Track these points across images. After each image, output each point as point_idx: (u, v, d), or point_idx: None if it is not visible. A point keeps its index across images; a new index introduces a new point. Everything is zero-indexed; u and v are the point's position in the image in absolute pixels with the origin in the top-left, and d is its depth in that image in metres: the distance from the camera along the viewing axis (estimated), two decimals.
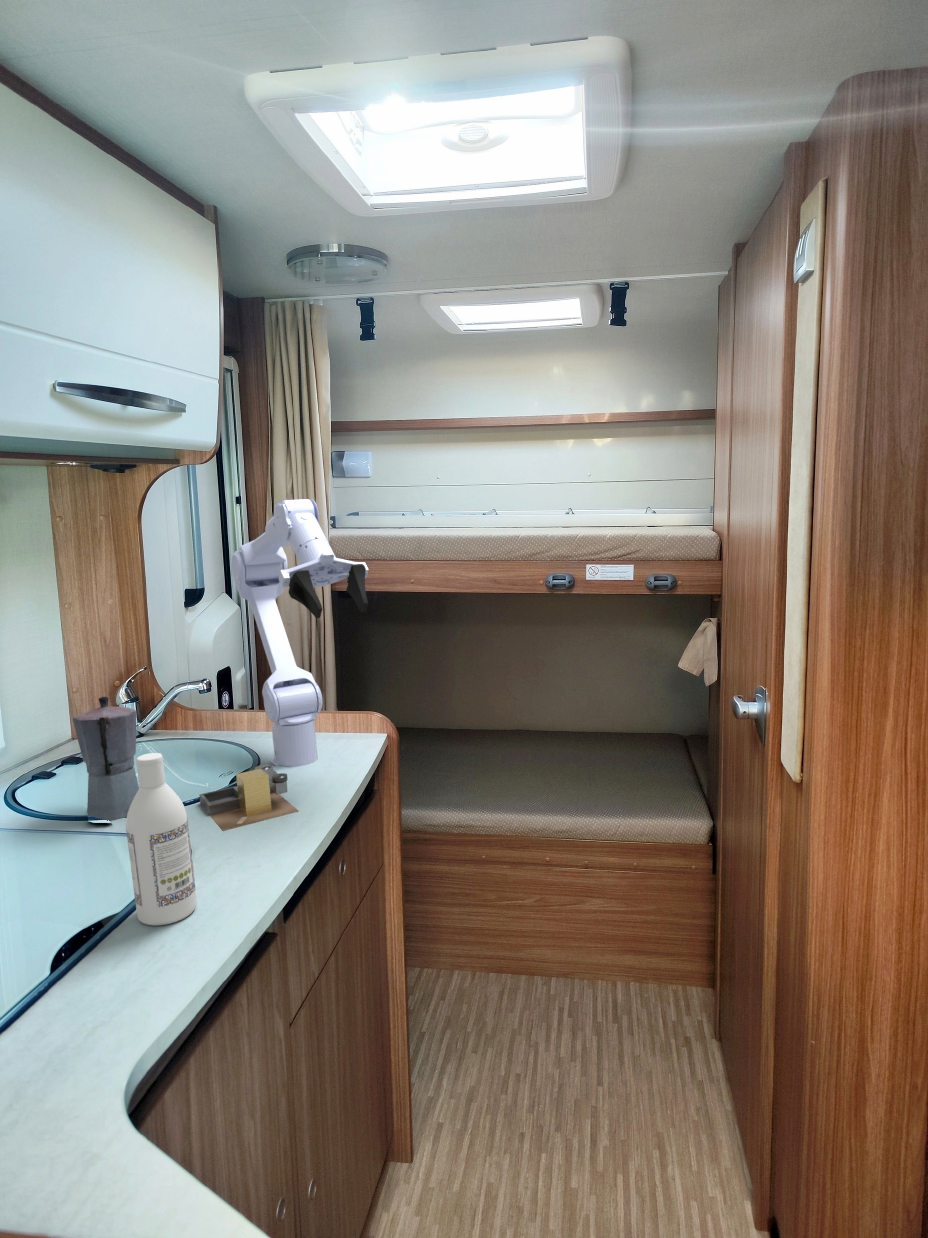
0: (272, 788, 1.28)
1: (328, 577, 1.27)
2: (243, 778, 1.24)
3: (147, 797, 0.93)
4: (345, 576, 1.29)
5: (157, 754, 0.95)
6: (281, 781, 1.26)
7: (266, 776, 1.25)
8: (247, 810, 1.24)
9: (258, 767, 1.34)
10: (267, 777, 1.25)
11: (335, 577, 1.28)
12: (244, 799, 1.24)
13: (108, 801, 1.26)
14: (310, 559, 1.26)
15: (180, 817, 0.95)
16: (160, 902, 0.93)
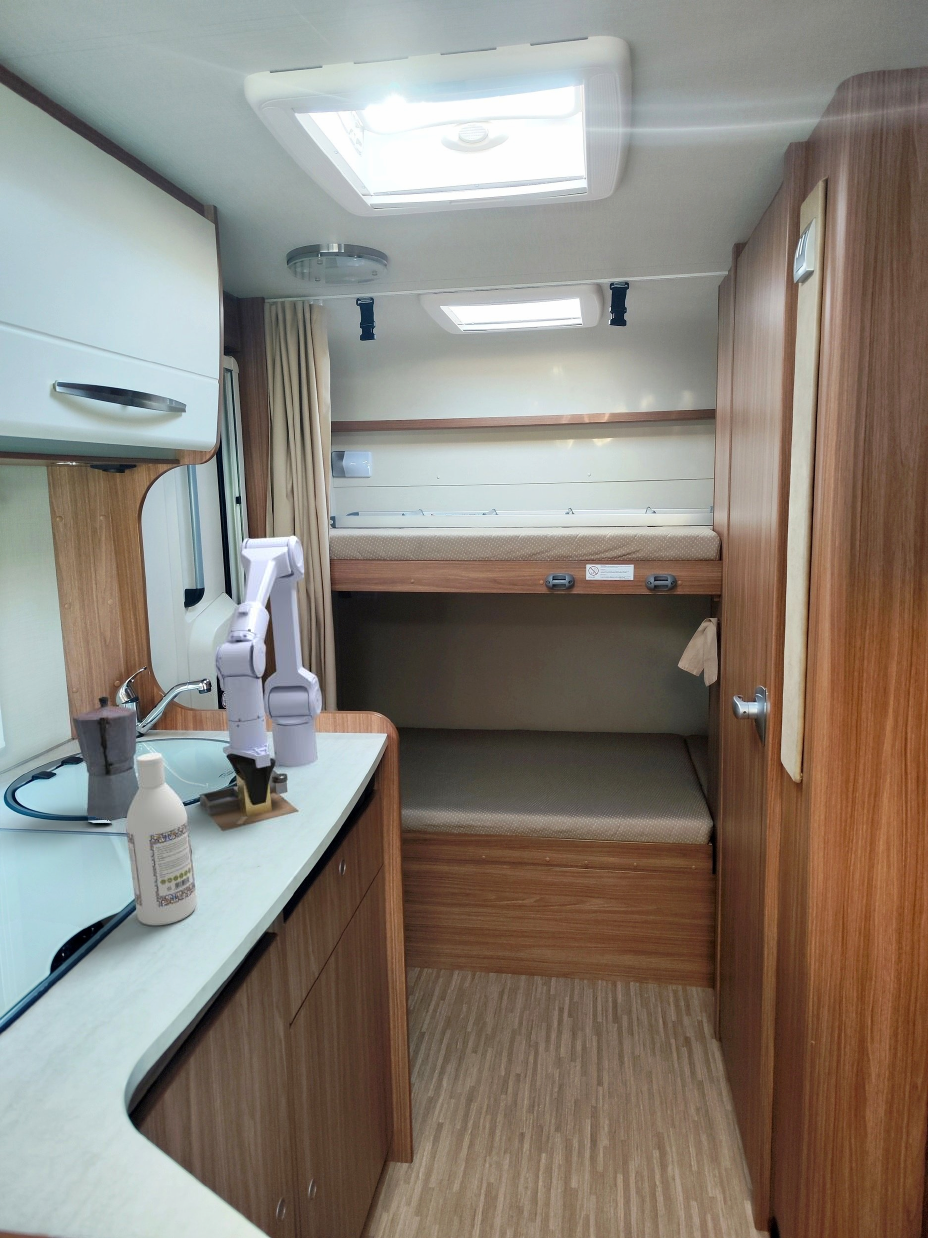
0: (272, 788, 1.28)
1: None
2: (243, 778, 1.24)
3: (147, 797, 0.93)
4: None
5: (157, 754, 0.95)
6: (281, 781, 1.26)
7: None
8: (247, 810, 1.24)
9: None
10: None
11: None
12: (244, 799, 1.24)
13: (108, 801, 1.26)
14: None
15: (180, 817, 0.95)
16: (160, 902, 0.93)
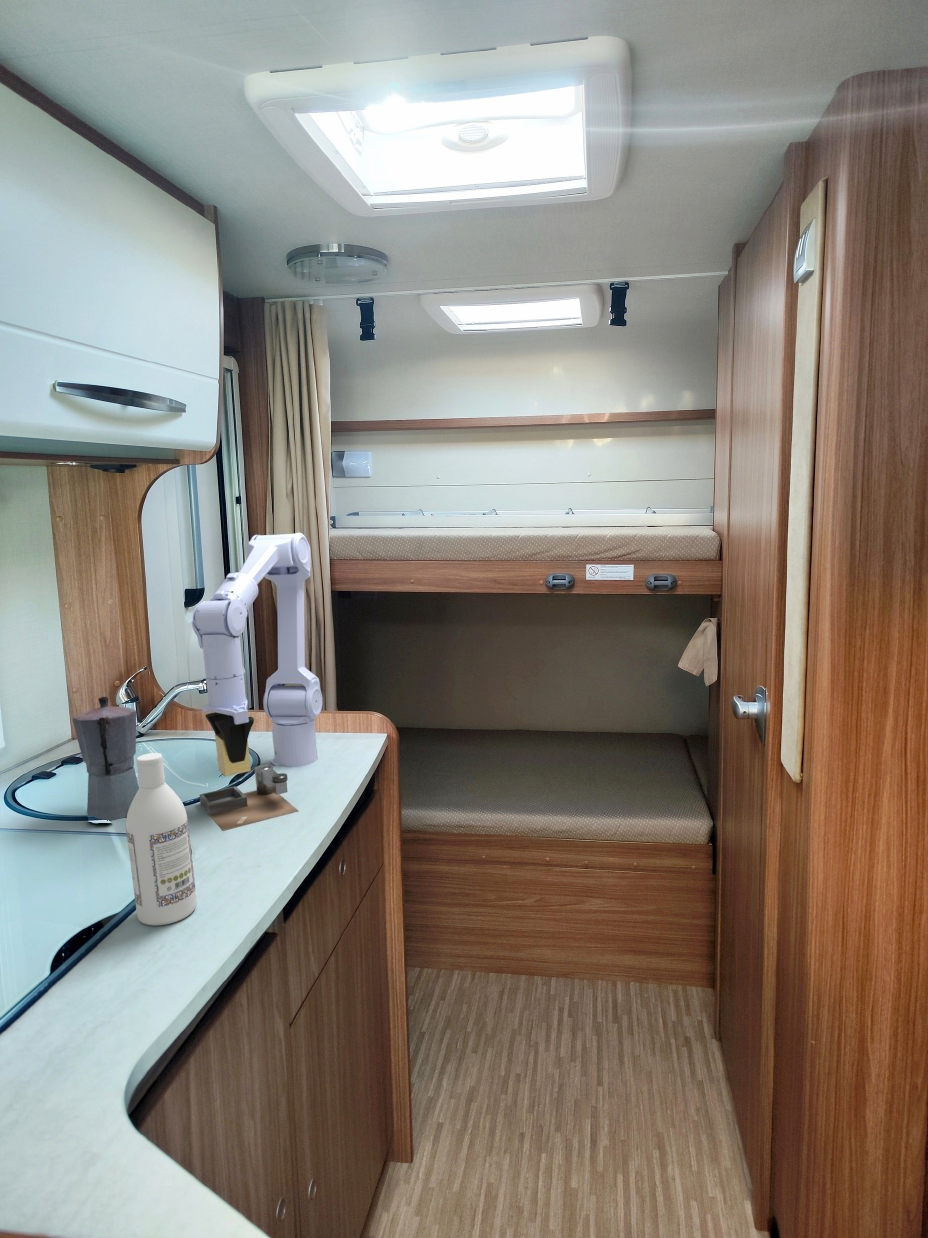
0: (272, 788, 1.28)
1: None
2: (222, 738, 1.25)
3: (147, 797, 0.93)
4: None
5: (157, 754, 0.95)
6: (281, 781, 1.26)
7: None
8: (226, 769, 1.24)
9: (258, 767, 1.34)
10: None
11: None
12: (223, 758, 1.24)
13: (108, 801, 1.26)
14: None
15: (180, 817, 0.95)
16: (160, 902, 0.93)
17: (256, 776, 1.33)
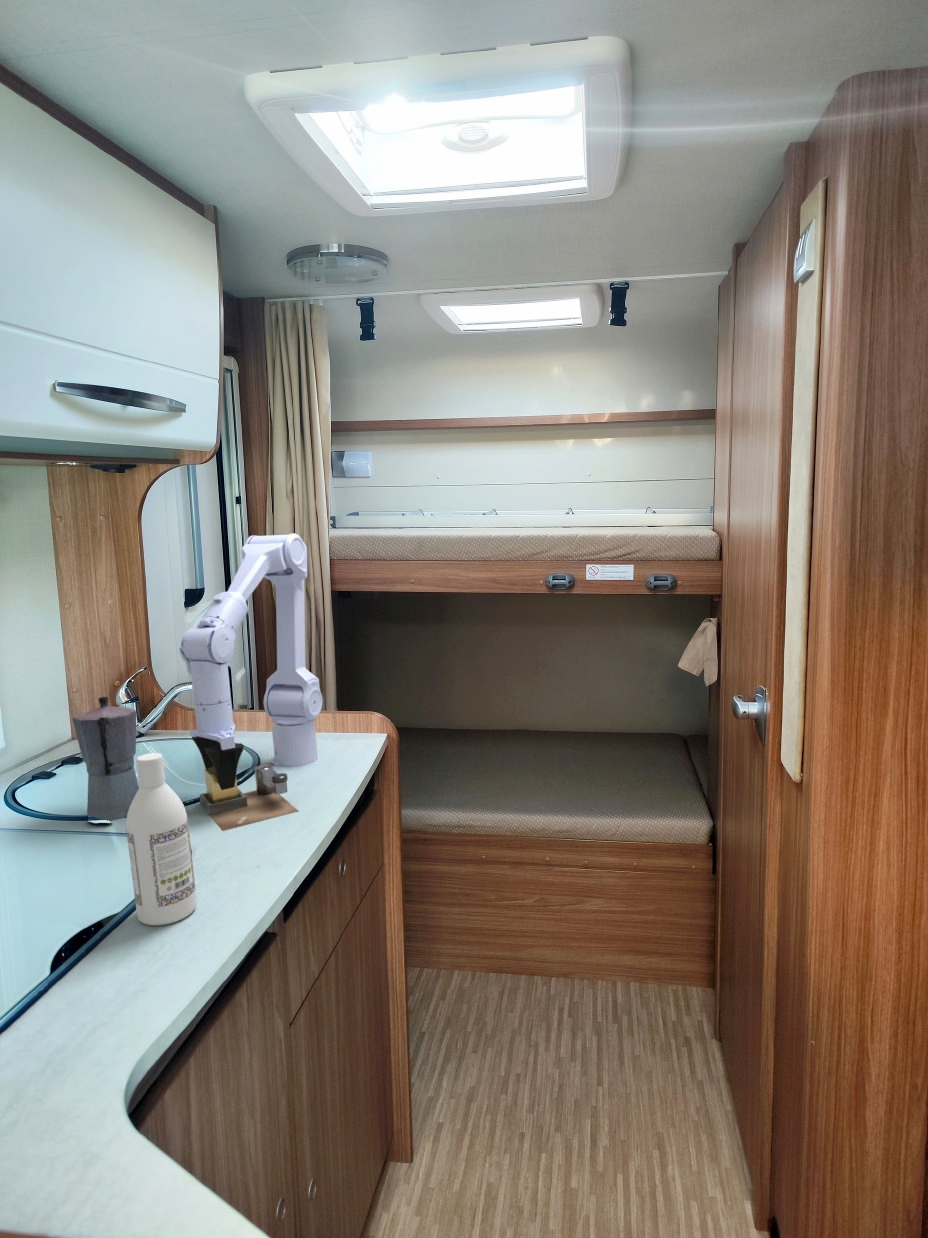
0: (272, 788, 1.28)
1: None
2: (211, 773, 1.27)
3: (147, 797, 0.93)
4: None
5: (157, 754, 0.95)
6: (281, 781, 1.26)
7: None
8: None
9: (258, 767, 1.34)
10: None
11: None
12: (211, 793, 1.27)
13: (108, 801, 1.26)
14: None
15: (180, 817, 0.95)
16: (160, 902, 0.93)
17: (256, 776, 1.33)
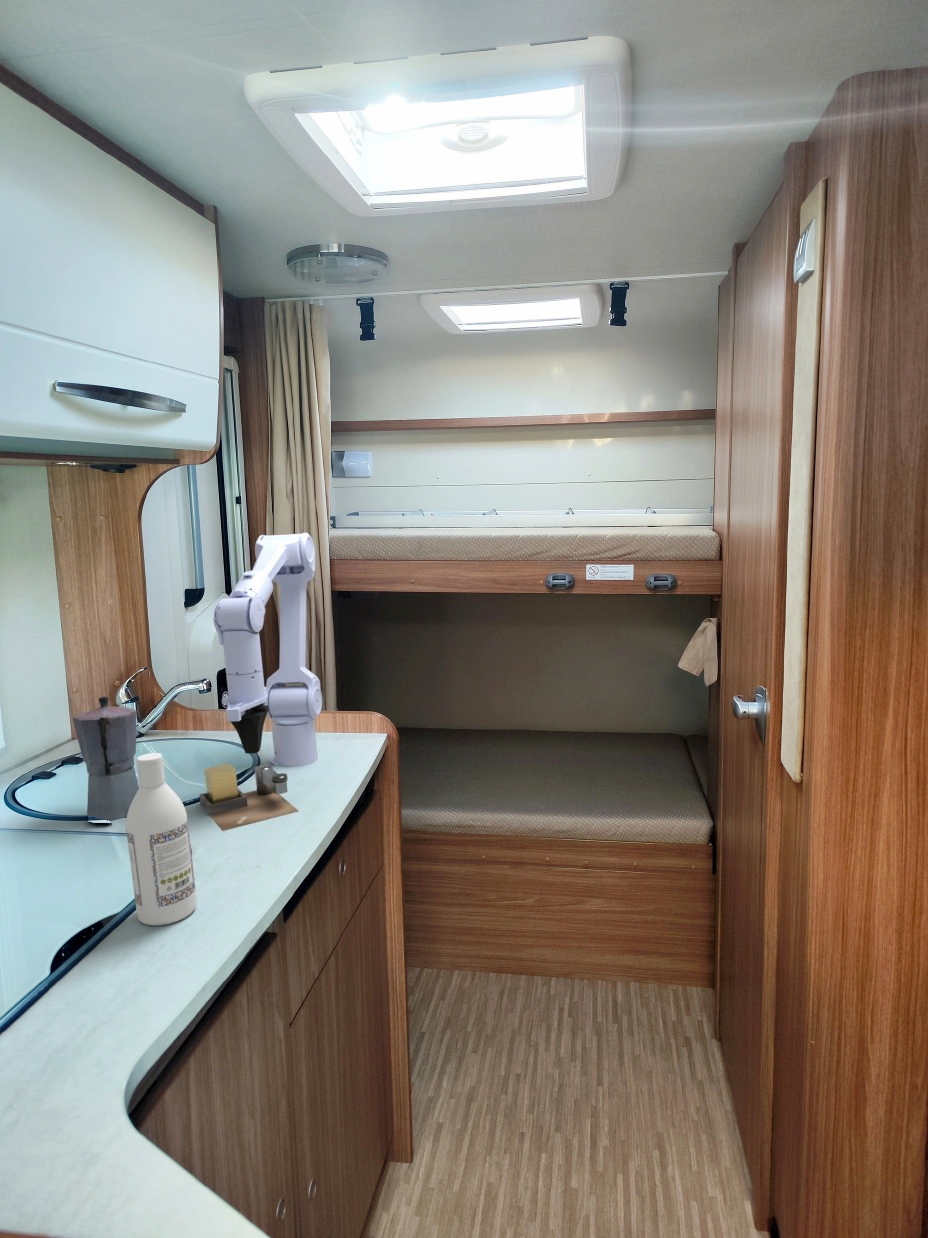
0: (272, 788, 1.28)
1: None
2: (211, 773, 1.27)
3: (147, 797, 0.93)
4: None
5: (157, 754, 0.95)
6: (281, 781, 1.26)
7: (233, 771, 1.28)
8: None
9: (258, 767, 1.34)
10: (234, 772, 1.28)
11: None
12: (211, 793, 1.27)
13: (108, 801, 1.26)
14: None
15: (180, 817, 0.95)
16: (160, 902, 0.93)
17: (256, 776, 1.33)
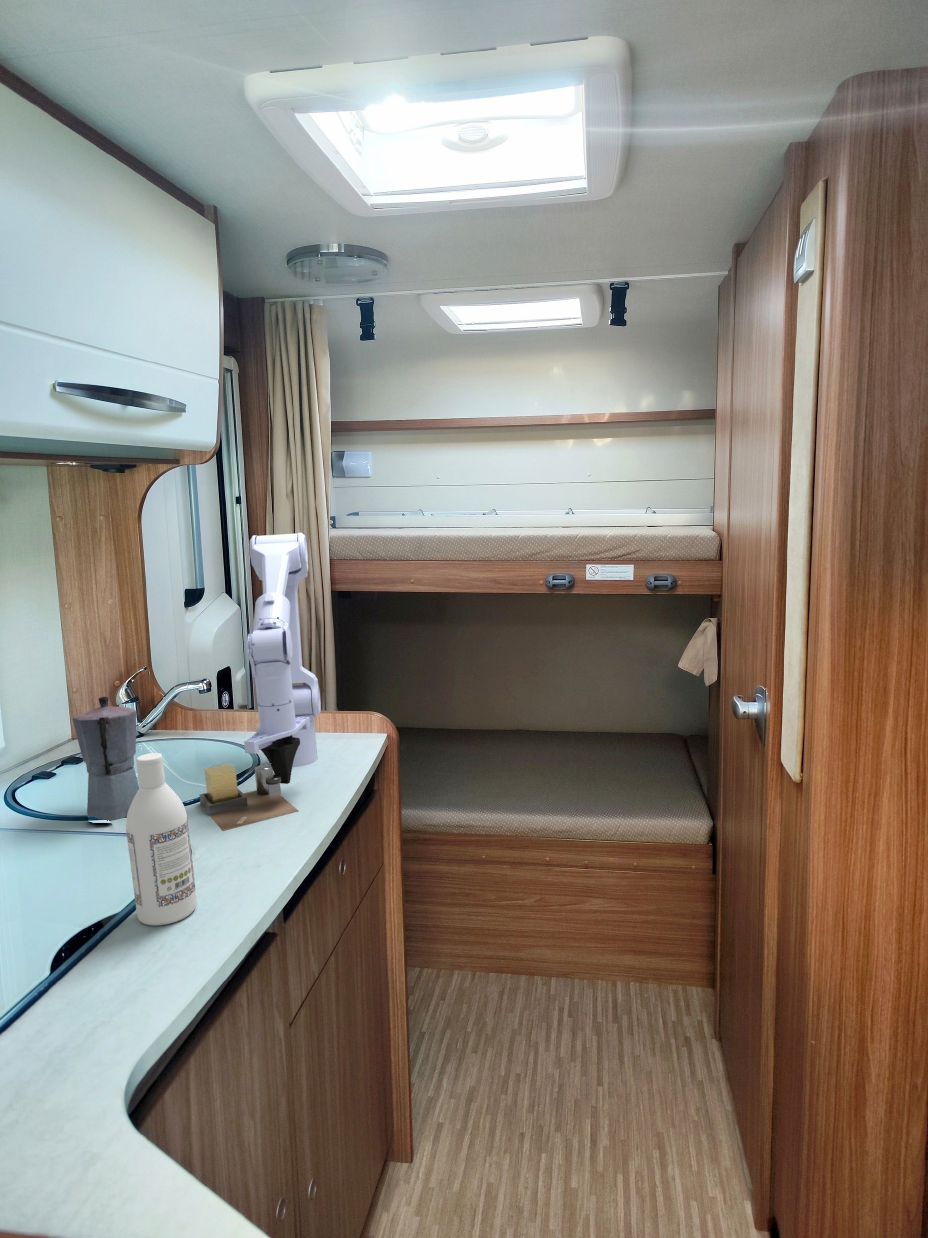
0: (267, 789, 1.27)
1: None
2: (211, 773, 1.27)
3: (147, 797, 0.93)
4: (266, 745, 1.25)
5: (157, 754, 0.95)
6: (274, 783, 1.25)
7: (233, 771, 1.28)
8: None
9: (258, 767, 1.34)
10: (234, 772, 1.28)
11: None
12: (211, 793, 1.27)
13: (108, 801, 1.26)
14: None
15: (180, 817, 0.95)
16: (160, 902, 0.93)
17: (256, 776, 1.33)
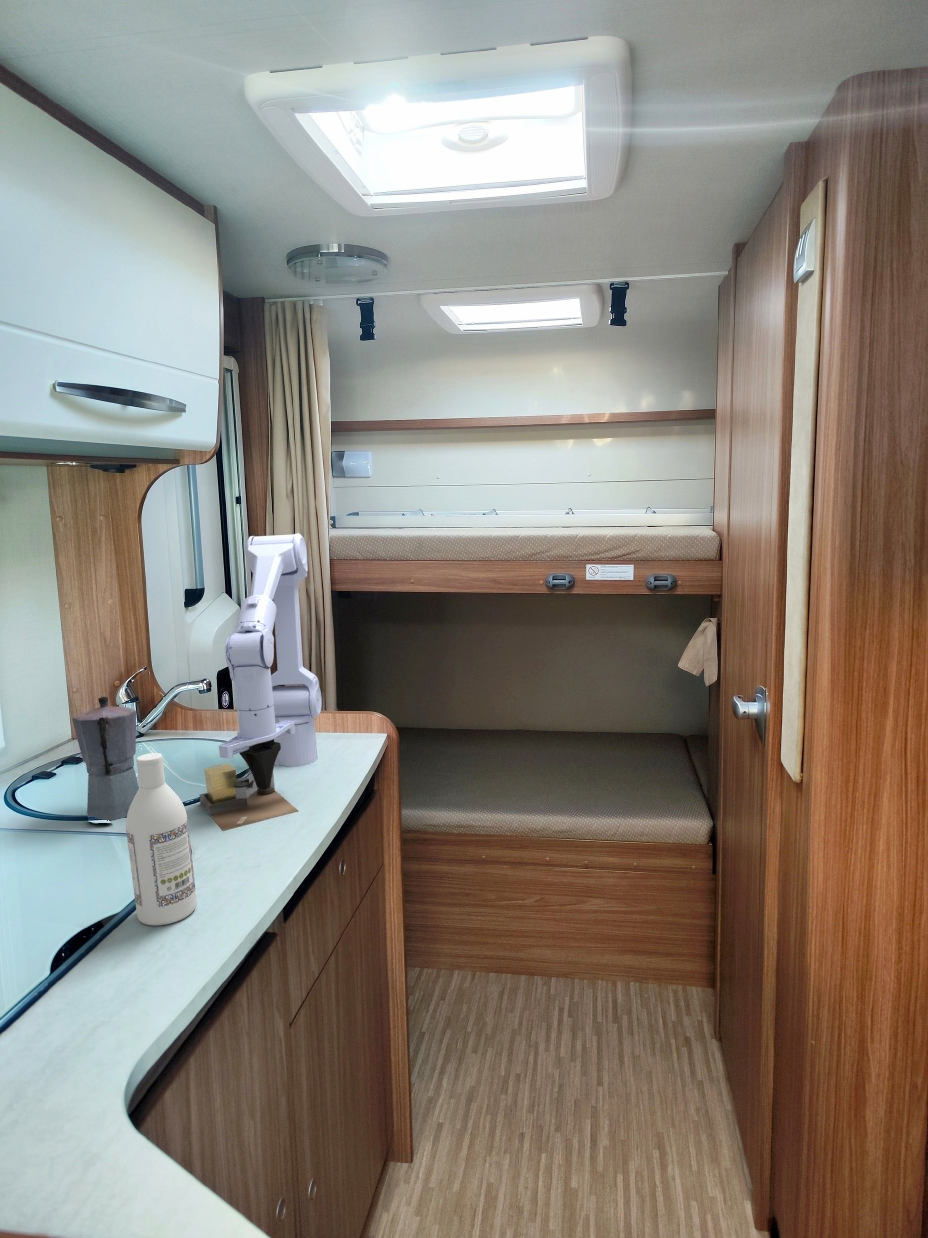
0: None
1: None
2: (211, 773, 1.27)
3: (147, 797, 0.93)
4: None
5: (157, 754, 0.95)
6: (237, 786, 1.24)
7: (233, 771, 1.28)
8: None
9: None
10: (234, 772, 1.28)
11: None
12: (211, 793, 1.27)
13: (108, 801, 1.26)
14: None
15: (180, 817, 0.95)
16: (160, 902, 0.93)
17: None
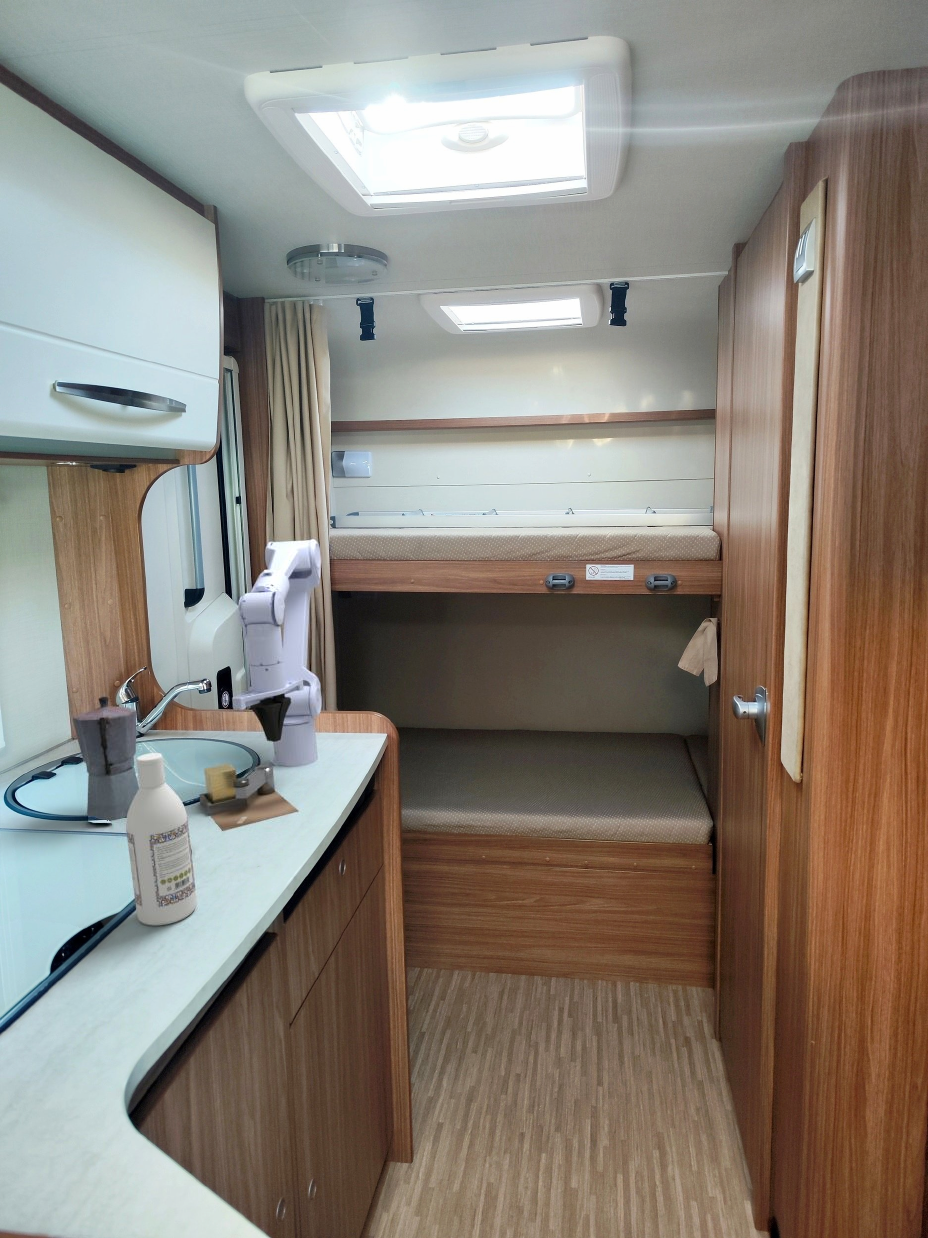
0: None
1: None
2: (211, 773, 1.27)
3: (147, 797, 0.93)
4: None
5: (157, 754, 0.95)
6: (237, 786, 1.24)
7: (233, 771, 1.28)
8: None
9: (260, 766, 1.34)
10: (234, 772, 1.28)
11: None
12: (211, 793, 1.27)
13: (108, 801, 1.26)
14: None
15: (180, 817, 0.95)
16: (160, 902, 0.93)
17: None
